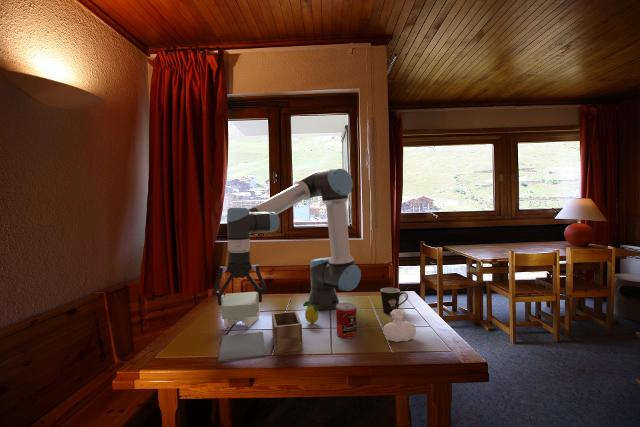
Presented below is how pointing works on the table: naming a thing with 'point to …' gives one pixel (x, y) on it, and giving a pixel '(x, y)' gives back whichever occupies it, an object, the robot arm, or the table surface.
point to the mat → (242, 346)
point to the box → (287, 332)
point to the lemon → (311, 312)
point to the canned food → (346, 320)
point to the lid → (239, 305)
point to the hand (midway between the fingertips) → (240, 313)
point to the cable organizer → (246, 320)
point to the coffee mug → (391, 299)
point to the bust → (399, 328)
